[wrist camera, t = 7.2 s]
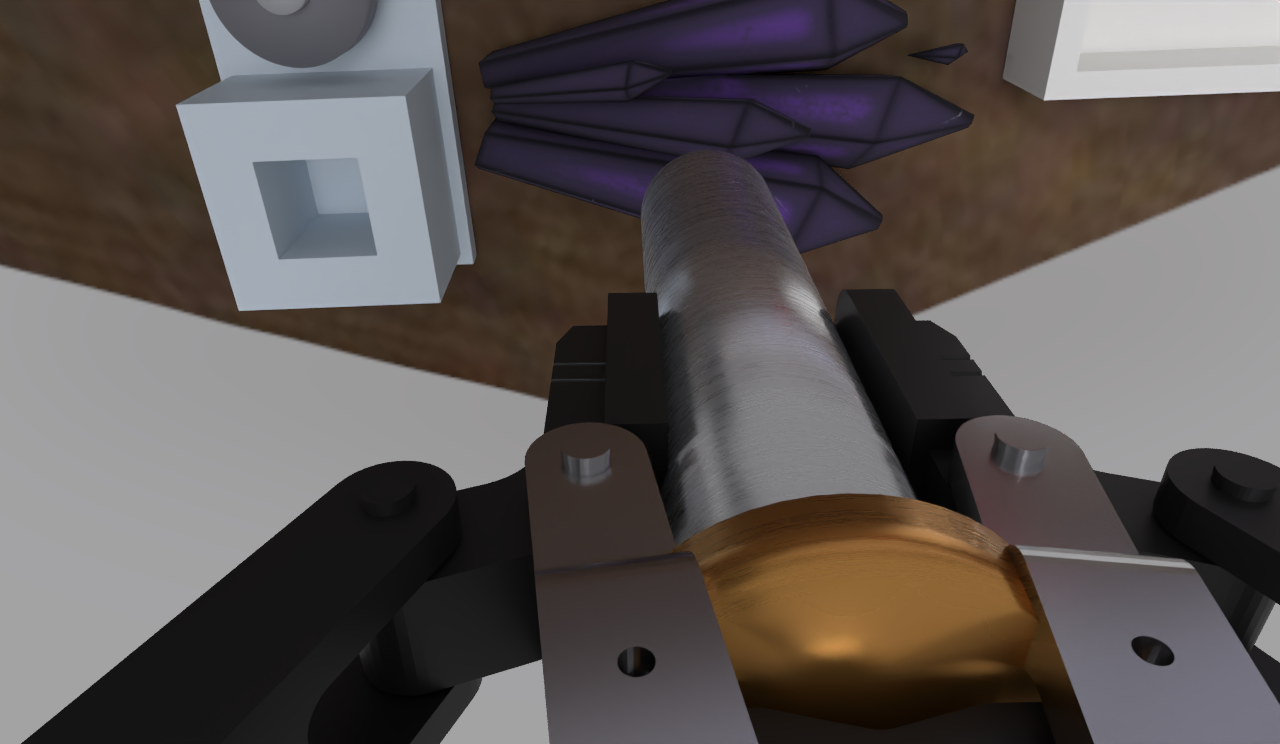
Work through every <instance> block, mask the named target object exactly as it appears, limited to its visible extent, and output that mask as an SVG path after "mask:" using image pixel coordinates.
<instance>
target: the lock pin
mask: <svg viewBox="0 0 1280 744" xmlns="http://www.w3.org/2000/svg"><path fill="white" fill-rule="evenodd" d="M641 227H642V245H643V263H644V281H645V293H653V292H657V299H658V310H659V322H660V333H661V345H662V356H663V368H664V380H665V391H666V403H667V414H668V471H667V473H666V475H665V477H664V480H663V482H662V485H661V489H660V495H661V498H662V502H663V505H664V508H665V511H666V515H667V518H668V521H669V524H670V528H671V531H672V534H673V537H674V541H675V544H676V547H675V548H674V549H672V550H671V551H669V552H668V553H676V552H684V551H691V552H692V553H693V554H694V555H695V557H696V560H697V562H698V565H699V567H700V570H701V573H702V576H703V579H704V582H705V585H706V588H707V591H708V594H709V597H710V600H711V603H712V606H713V609H714V612H715V615H716V618H717V621H718V624H719V627H720V630H721V633H722V636H723V639H724V642H725V645H726V648H727V651H728V654H729V657H730V660H731V663H732V666H733V669H734V672H735V675H736V678H737V681H738V684H739V687H740V690H741V693H742V696H743V699H744V702H745V705H746V708H767V709H772V710H777V711H782V712H787V713H792V714H797V715H802V716H807V717H812V718H818V719H823V720H828V721H833V722H838V723H843V724H848V725H853V726H858V727H863V728H868V729H875V730H887V729H892V728H896V727H900V726H904V725H907V724H911V723H915V722H918V721H922V720H925V719H929V718H933V717H936V716H940V715H944V714H947V713H951V712H954V711H958V710H962V709H965V708H969V707H973V706H976V705H980V704H983V703H1009V702H1041V699H1040V696H1039V693H1038V690H1037V688H1036V685H1035V683H1034V681H1033V679H1032V677H1031V676H1030V675H1029V673H1028V672H1027V671H1025V670H1024V669H1023V668H1024V665H1025V662H1026V659H1027V656H1028V653H1029V650H1030V646H1031V643H1032V640H1033V637H1034V634H1035V631H1036V628H1037V624H1038V619H1037V617H1036V614H1035V612H1034V610H1033V607H1032V605H1031V603H1030V600H1029V598H1028V596H1027V594H1026V591H1025V589H1024V587H1023V584H1022V582H1021V580H1020V577H1019V575H1018V573H1017V571H1016V569H1015V567H1014V565H1013V562H1012V560H1011V558H1010V556H1009V554H1008V552H1007V549H1006V546H1008V545H1009V544H1008V543H1007V542H1006V541H1004V540H1003V539H1002V538H1001V537H1000V536H998V535H997V534H996V533H995V532H993V531H992V530H990V529H988V528H986V527H985V526H983V525H981V524H980V523H978V522H976V521H974V520H973V519H971V518H969V517H967V516H964V515H962V514H959V513H957V512H954V511H952V510H949V509H947V508H944V507H941V506H938V505H934V504H930V503H926V502H923V501H919V500H918V498H917V496H916V494H915V492H914V490H913V488H912V486H911V484H910V482H909V480H908V478H907V476H906V474H905V471H904V469H903V467H902V465H901V463H900V461H899V459H898V457H897V455H896V453H895V451H894V449H893V446H892V444H891V442H890V440H889V438H888V436H887V434H886V432H885V430H884V428H883V426H882V424H881V422H880V419H879V417H878V415H877V413H876V411H875V409H874V407H873V405H872V403H871V401H870V399H869V397H868V394H867V392H866V390H865V388H864V386H863V384H862V382H861V380H860V378H859V376H858V374H857V372H856V369H855V367H854V365H853V363H852V361H851V359H850V357H849V355H848V353H847V351H846V349H845V347H844V345H843V342H842V340H841V338H840V336H839V334H838V332H837V330H836V328H835V326H834V324H833V322H832V320H831V317H830V315H829V313H828V311H827V309H826V307H825V305H824V303H823V301H822V299H821V297H820V295H819V292H818V290H817V288H816V286H815V284H814V282H813V280H812V278H811V276H810V274H809V272H808V270H807V268H806V265H805V263H804V261H803V259H802V257H801V255H800V253H799V251H798V249H797V247H796V245H795V243H794V240H793V238H792V236H791V234H790V232H789V230H788V228H787V226H786V224H785V222H784V220H783V218H782V215H781V213H780V211H779V209H778V207H777V205H776V203H775V201H774V199H773V197H772V195H771V193H770V191H769V188H768V186H767V184H766V182H765V181H764V179H763V177H762V176H761V174H760V173H759V172H758V171H757V170H756V169H755V168H754V167H753V166H752V165H751V164H750V163H748V162H747V161H746V160H744V159H743V158H741V157H739V156H736V155H734V154H731V153H728V152H724V151H719V150H700V151H695V152H691V153H688V154H685V155H682V156H680V157H678V158H676V159H674V160H673V161H671V162H670V163H668V164H667V165H666V166H665V167H663V168H662V169H661V170H660V171H659V172H658V173H657V175H656V176H655V177H654V178H653V180H652V181H651V183H650V184H649V186H648V188H647V190H646V193H645V195H644V198H643V202H642V208H641ZM668 553H666V554H668Z"/></svg>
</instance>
